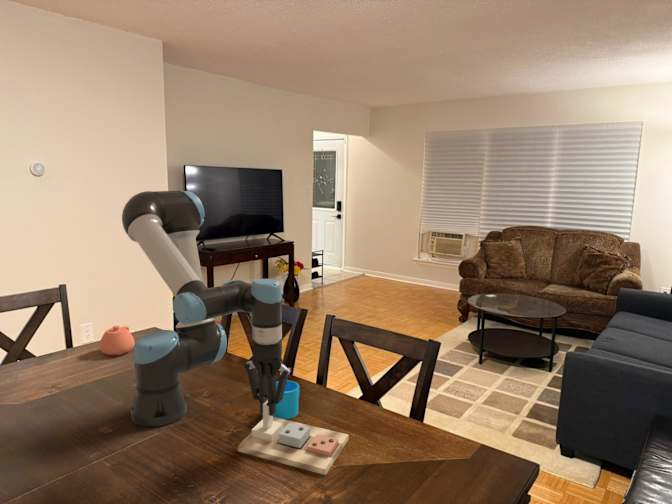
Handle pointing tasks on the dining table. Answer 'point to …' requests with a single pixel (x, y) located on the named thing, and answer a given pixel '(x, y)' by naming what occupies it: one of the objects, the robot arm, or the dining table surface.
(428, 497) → the dining table surface
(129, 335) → the sugar bowl
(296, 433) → the tile two
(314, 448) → the tile three
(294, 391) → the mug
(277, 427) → the tile one
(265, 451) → the board
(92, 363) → the dining table surface
